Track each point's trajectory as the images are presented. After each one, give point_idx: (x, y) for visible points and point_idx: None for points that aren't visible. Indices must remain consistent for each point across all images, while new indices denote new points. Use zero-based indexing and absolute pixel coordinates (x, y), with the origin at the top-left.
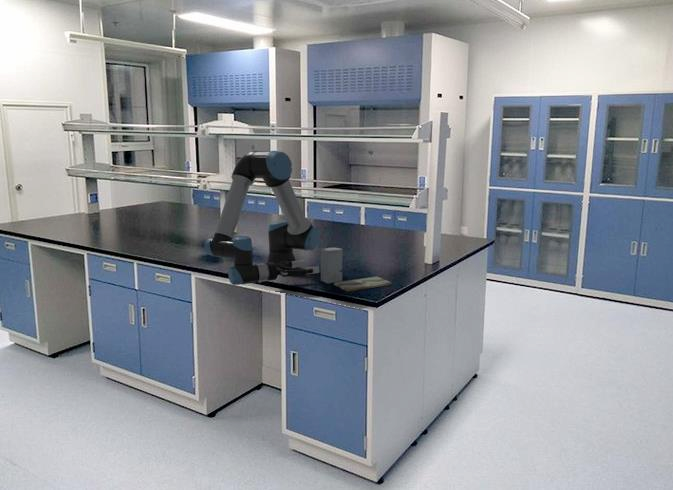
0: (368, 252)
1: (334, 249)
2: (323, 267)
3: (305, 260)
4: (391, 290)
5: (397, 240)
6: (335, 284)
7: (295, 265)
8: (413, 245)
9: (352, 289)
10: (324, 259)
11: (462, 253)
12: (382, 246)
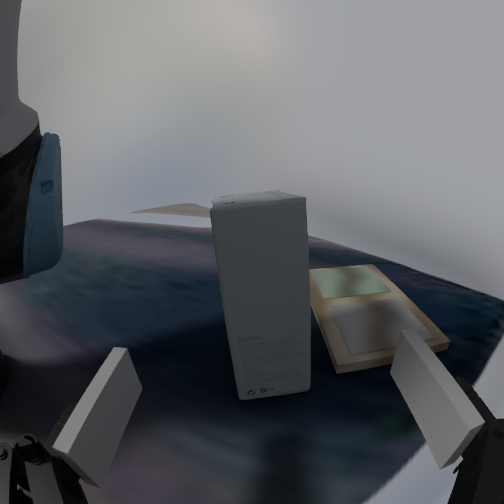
0: (98, 249)
1: (277, 193)
2: (264, 327)
3: (126, 350)
4: (423, 277)
5: (97, 228)
6: (353, 366)
7: (104, 451)
8: (133, 224)
9: (437, 331)
10: (272, 272)
11: None
12: (97, 237)
